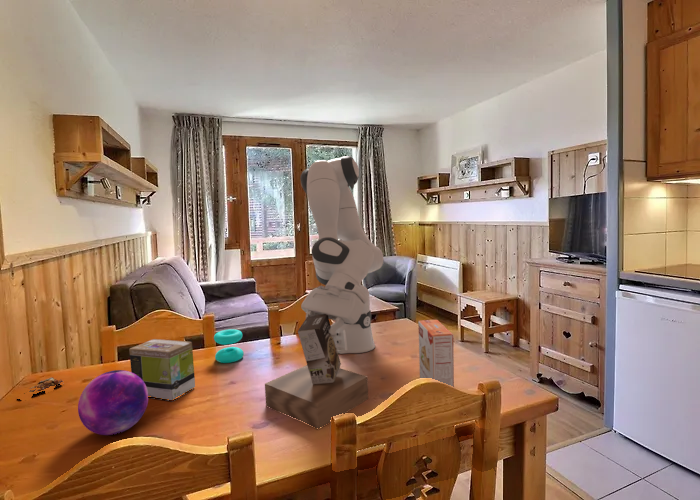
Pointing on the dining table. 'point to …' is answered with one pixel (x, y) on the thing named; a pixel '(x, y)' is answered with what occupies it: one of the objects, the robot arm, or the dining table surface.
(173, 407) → the dining table surface
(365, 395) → the walnut block
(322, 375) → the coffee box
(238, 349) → the donuts
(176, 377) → the tea box
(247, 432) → the dining table surface
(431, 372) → the cracker box
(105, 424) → the decorative orb
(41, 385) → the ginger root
